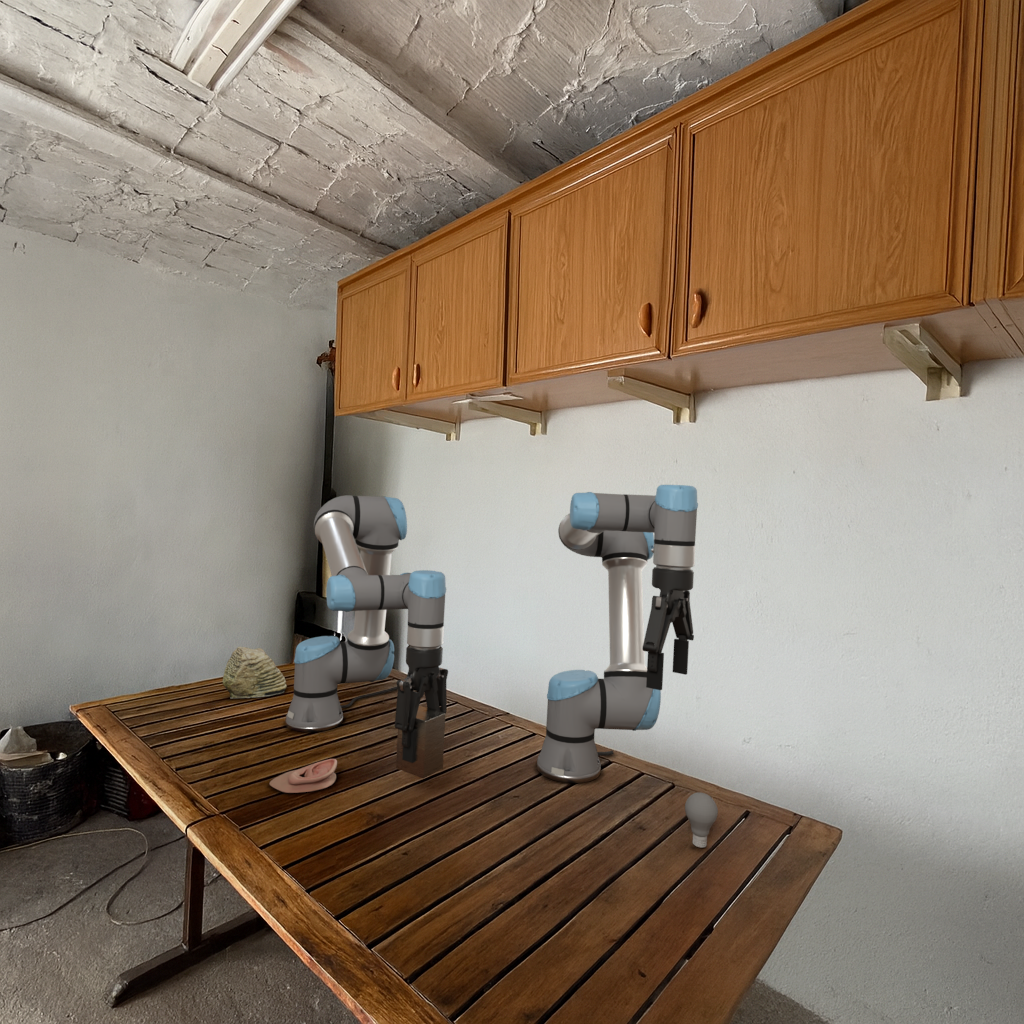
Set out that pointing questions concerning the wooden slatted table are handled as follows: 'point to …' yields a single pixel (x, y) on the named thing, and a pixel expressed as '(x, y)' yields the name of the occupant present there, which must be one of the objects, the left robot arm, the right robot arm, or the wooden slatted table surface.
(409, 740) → the left robot arm
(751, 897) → the wooden slatted table surface
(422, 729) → the block
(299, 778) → the anatomical model
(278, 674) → the fossil
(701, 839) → the light bulb
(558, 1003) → the wooden slatted table surface
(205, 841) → the wooden slatted table surface
